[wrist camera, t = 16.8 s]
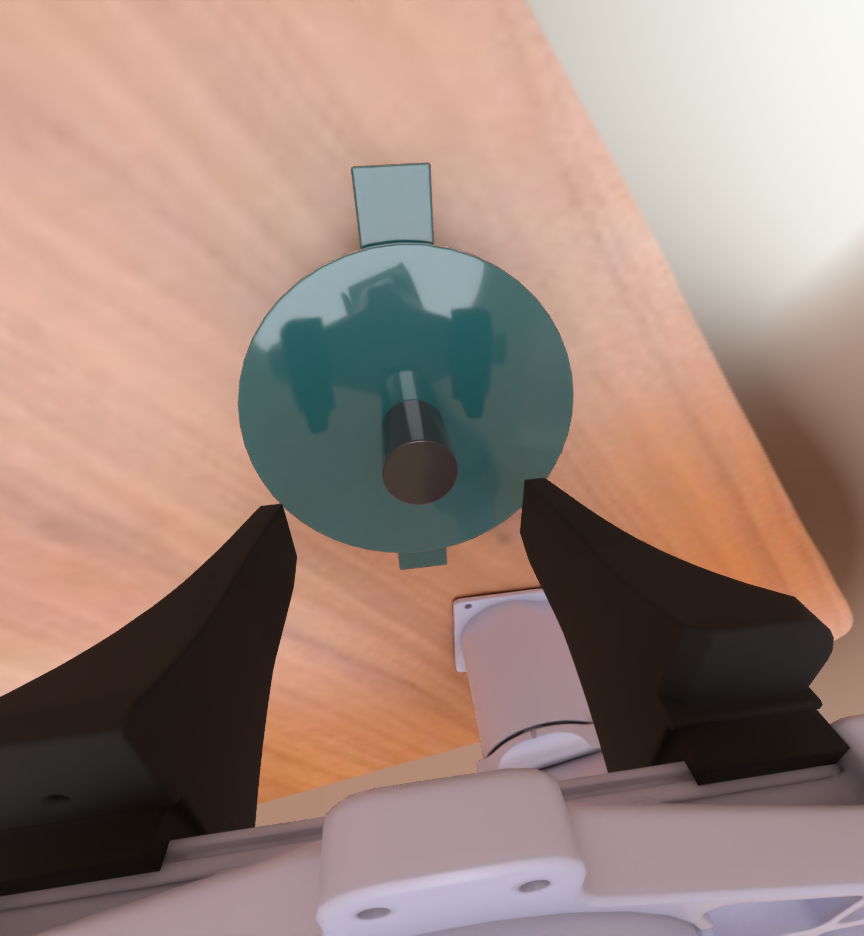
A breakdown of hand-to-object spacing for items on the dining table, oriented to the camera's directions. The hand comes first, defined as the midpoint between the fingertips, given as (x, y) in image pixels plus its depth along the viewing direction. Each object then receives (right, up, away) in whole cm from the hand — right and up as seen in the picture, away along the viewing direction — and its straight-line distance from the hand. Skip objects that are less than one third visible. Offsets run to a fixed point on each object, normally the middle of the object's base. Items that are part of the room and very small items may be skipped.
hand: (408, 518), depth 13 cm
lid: (0, +3, +4) cm, 5 cm away
